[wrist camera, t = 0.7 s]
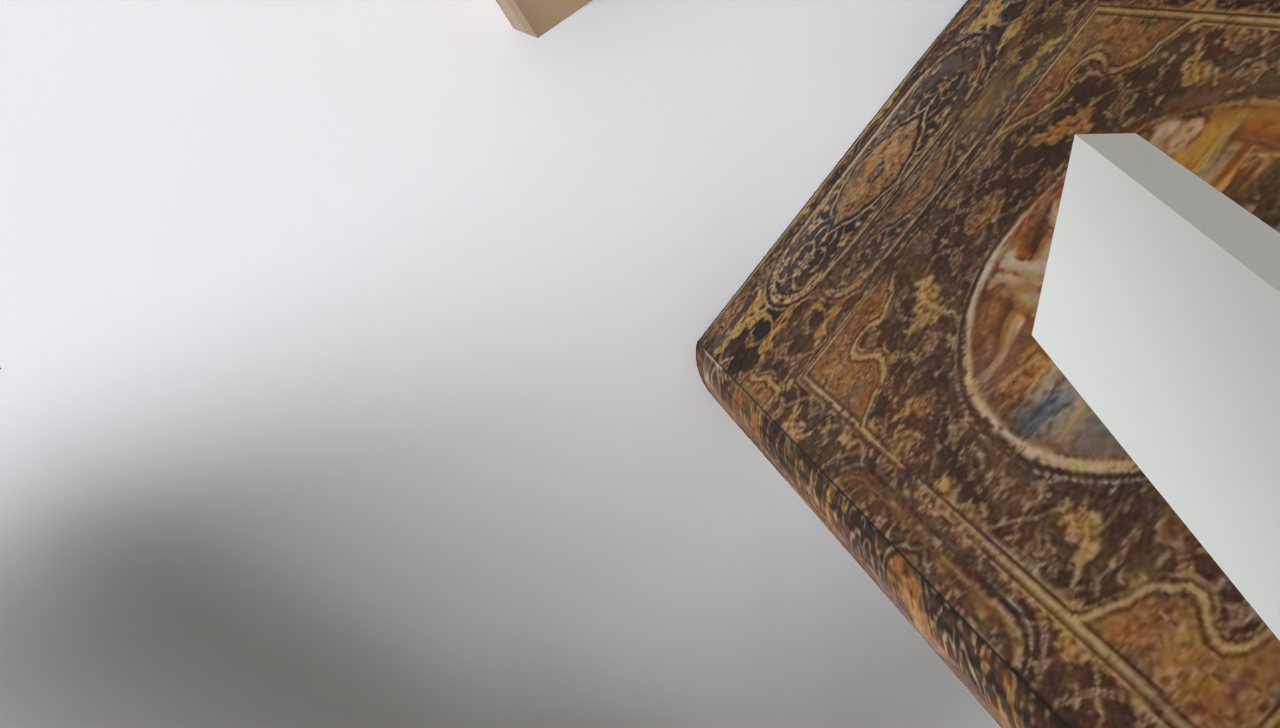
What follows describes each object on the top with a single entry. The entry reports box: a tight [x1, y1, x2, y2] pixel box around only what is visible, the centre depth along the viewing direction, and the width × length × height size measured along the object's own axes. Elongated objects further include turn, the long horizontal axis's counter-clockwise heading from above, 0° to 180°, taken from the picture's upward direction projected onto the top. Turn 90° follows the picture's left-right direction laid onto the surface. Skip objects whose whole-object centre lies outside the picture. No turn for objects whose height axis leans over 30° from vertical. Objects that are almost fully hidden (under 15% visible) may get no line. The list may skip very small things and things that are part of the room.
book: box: [696, 0, 1280, 728], centre depth 26 cm, size 16×6×25 cm, turn 140°
